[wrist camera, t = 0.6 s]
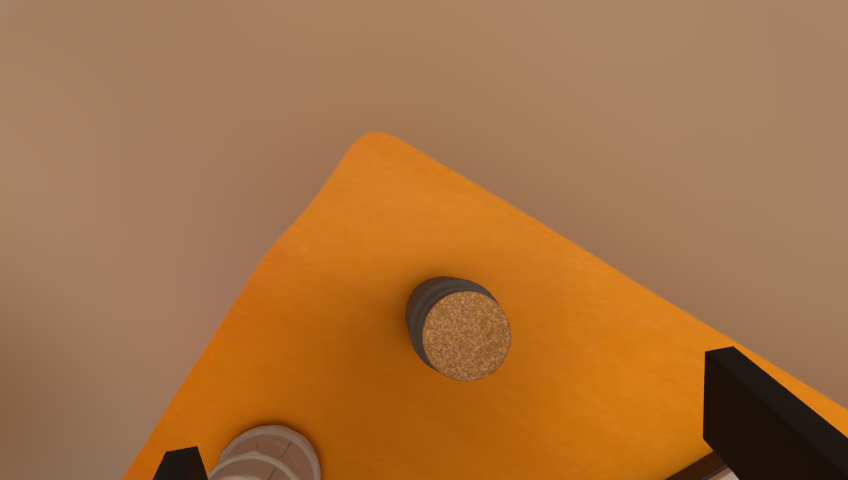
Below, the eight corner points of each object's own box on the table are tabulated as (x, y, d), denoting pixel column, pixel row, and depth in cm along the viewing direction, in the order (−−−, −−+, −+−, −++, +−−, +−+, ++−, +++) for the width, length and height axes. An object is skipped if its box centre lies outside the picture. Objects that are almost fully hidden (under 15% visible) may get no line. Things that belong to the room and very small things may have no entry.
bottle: (452, 261, 45) (481, 258, 30) (493, 322, 45) (543, 350, 30) (390, 303, 44) (388, 322, 29) (432, 365, 44) (452, 415, 29)
